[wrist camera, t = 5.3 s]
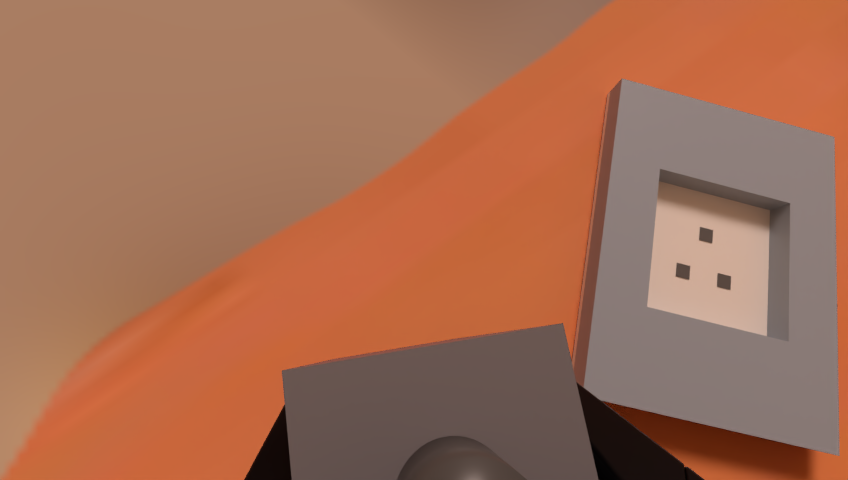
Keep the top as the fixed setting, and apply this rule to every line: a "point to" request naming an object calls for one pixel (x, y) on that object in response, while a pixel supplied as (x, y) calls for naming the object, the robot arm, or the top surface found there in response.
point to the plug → (442, 412)
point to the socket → (712, 269)
